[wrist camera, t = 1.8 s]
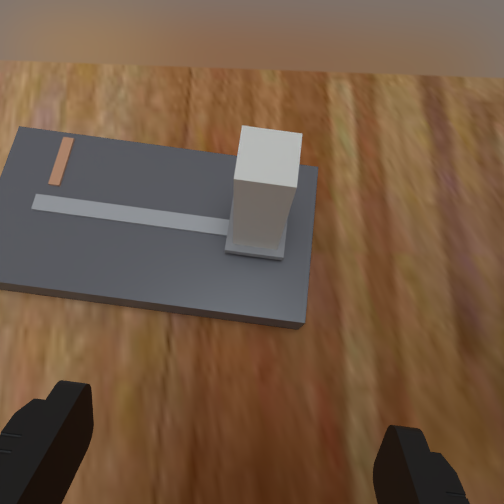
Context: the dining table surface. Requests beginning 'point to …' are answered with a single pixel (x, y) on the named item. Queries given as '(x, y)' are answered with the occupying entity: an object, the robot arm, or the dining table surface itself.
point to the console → (143, 230)
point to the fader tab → (263, 192)
